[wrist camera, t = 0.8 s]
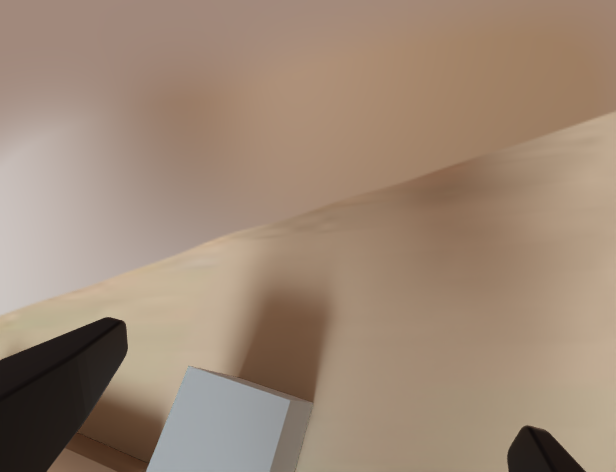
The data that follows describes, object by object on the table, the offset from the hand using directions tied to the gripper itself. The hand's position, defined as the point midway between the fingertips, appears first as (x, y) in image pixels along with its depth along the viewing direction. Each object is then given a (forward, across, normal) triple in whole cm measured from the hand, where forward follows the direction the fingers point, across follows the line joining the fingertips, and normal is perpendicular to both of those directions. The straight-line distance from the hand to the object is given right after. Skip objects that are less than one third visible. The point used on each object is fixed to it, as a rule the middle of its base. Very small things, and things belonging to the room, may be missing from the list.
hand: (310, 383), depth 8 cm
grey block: (+8, +2, +14) cm, 16 cm away
